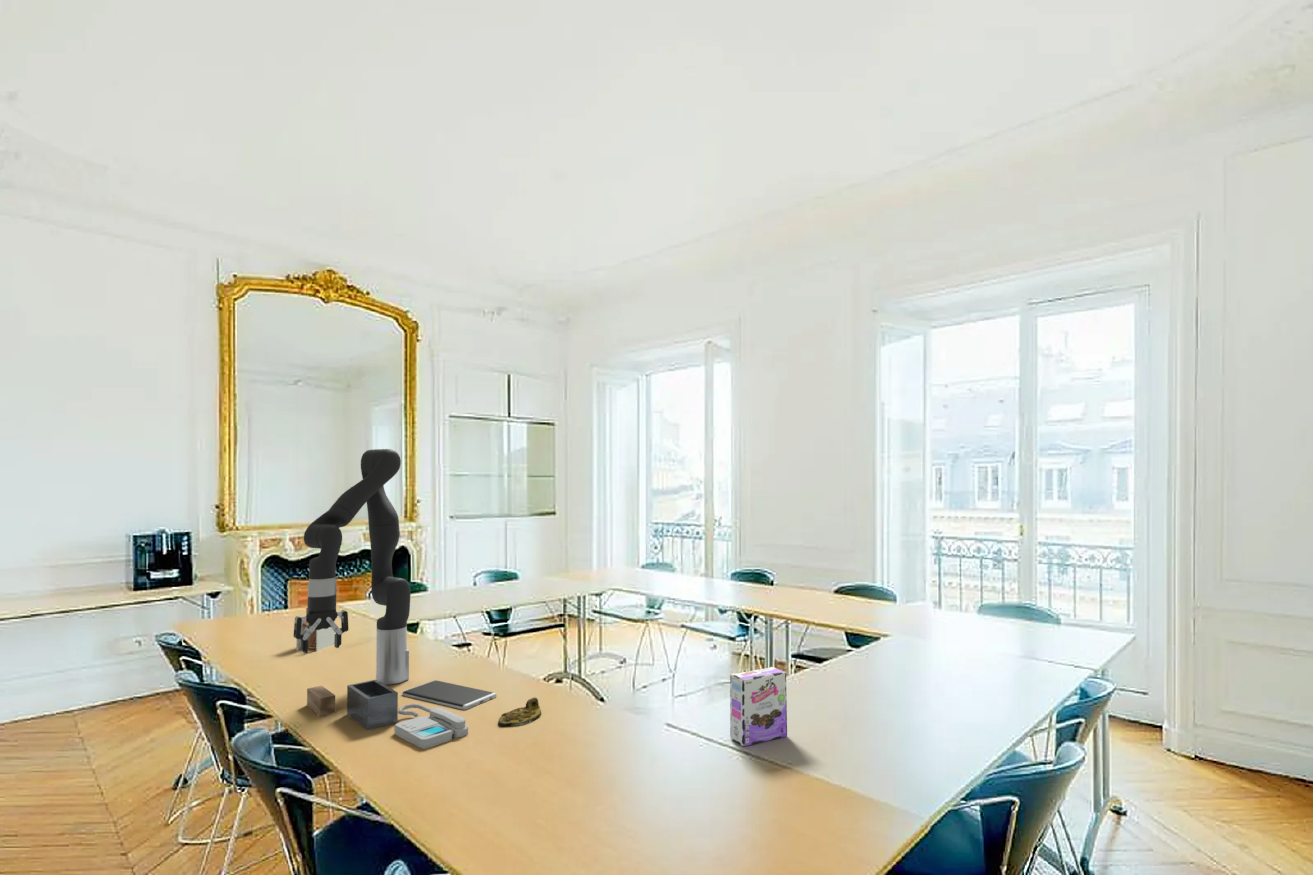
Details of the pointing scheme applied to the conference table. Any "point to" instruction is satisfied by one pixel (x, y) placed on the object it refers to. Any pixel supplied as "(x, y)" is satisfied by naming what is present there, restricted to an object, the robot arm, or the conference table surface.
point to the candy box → (758, 706)
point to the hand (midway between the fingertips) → (321, 650)
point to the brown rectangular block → (321, 700)
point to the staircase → (317, 637)
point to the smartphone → (449, 694)
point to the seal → (521, 714)
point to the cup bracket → (372, 704)
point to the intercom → (430, 726)
